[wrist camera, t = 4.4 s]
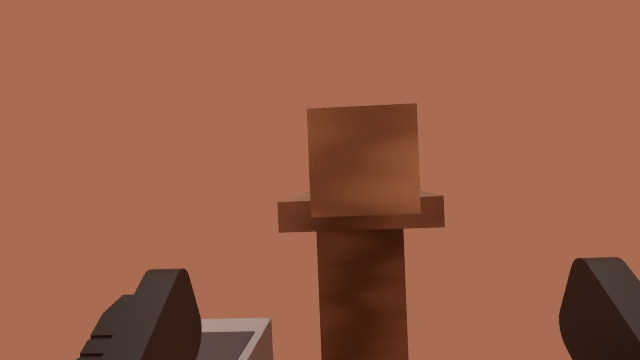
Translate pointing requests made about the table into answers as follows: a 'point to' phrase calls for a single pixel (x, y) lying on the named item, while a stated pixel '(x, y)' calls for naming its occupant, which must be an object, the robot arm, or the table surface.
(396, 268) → the stamp rack
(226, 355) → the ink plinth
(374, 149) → the stamp
